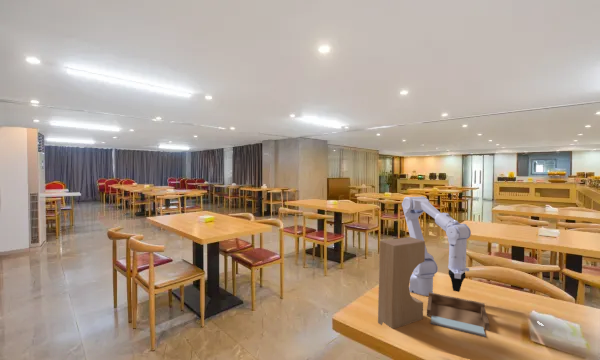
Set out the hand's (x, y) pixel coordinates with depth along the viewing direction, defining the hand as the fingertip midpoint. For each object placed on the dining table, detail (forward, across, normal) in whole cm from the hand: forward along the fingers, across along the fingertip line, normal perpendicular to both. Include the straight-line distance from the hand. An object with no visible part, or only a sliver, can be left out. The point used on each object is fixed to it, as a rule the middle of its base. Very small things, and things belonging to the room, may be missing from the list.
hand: (456, 290), depth 106 cm
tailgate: (+8, -9, 0) cm, 12 cm away
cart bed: (+9, -3, 0) cm, 10 cm away
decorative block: (+10, -16, +18) cm, 26 cm away
